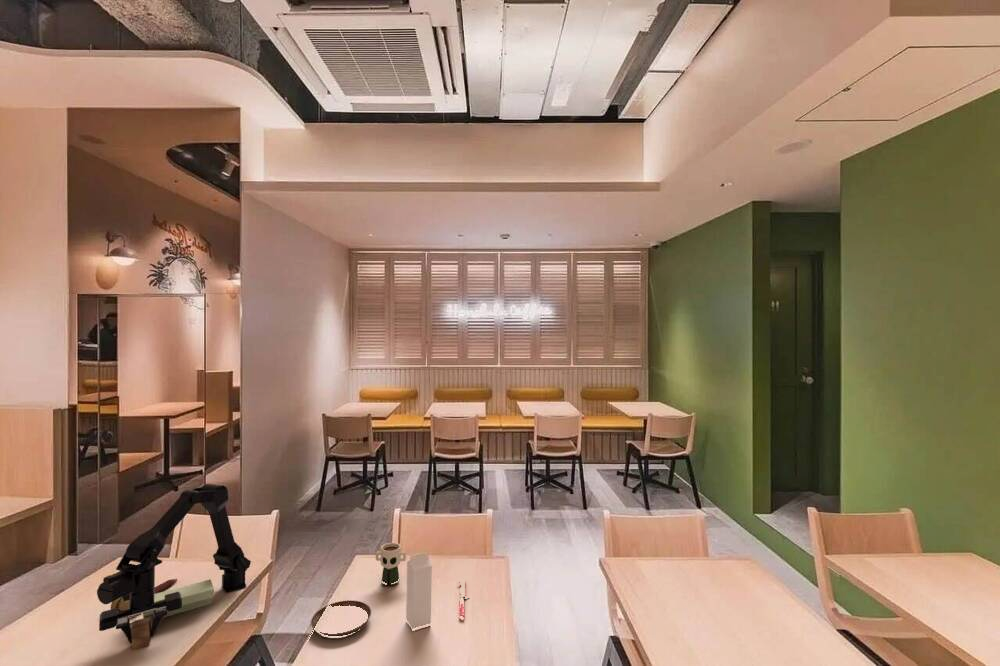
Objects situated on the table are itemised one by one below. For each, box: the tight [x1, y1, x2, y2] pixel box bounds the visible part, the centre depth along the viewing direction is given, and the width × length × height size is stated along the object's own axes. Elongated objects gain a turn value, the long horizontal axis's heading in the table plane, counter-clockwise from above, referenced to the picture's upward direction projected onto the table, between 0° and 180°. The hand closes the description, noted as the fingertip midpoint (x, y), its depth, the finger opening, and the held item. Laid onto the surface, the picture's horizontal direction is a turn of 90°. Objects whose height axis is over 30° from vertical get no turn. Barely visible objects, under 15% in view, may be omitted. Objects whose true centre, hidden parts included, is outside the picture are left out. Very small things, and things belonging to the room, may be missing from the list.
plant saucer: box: [310, 600, 372, 636], centre depth 149 cm, size 18×18×3 cm
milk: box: [405, 551, 433, 629], centre depth 149 cm, size 6×6×22 cm
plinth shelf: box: [142, 578, 215, 619], centre depth 152 cm, size 18×8×7 cm, turn 128°
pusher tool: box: [131, 614, 153, 650], centre depth 142 cm, size 4×14×6 cm, turn 27°
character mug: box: [375, 542, 407, 584], centre depth 174 cm, size 11×7×13 cm, turn 90°
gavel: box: [110, 578, 178, 612], centre depth 162 cm, size 21×5×10 cm
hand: (141, 639), depth 138 cm, fingers closed on pusher tool, 4 cm apart
